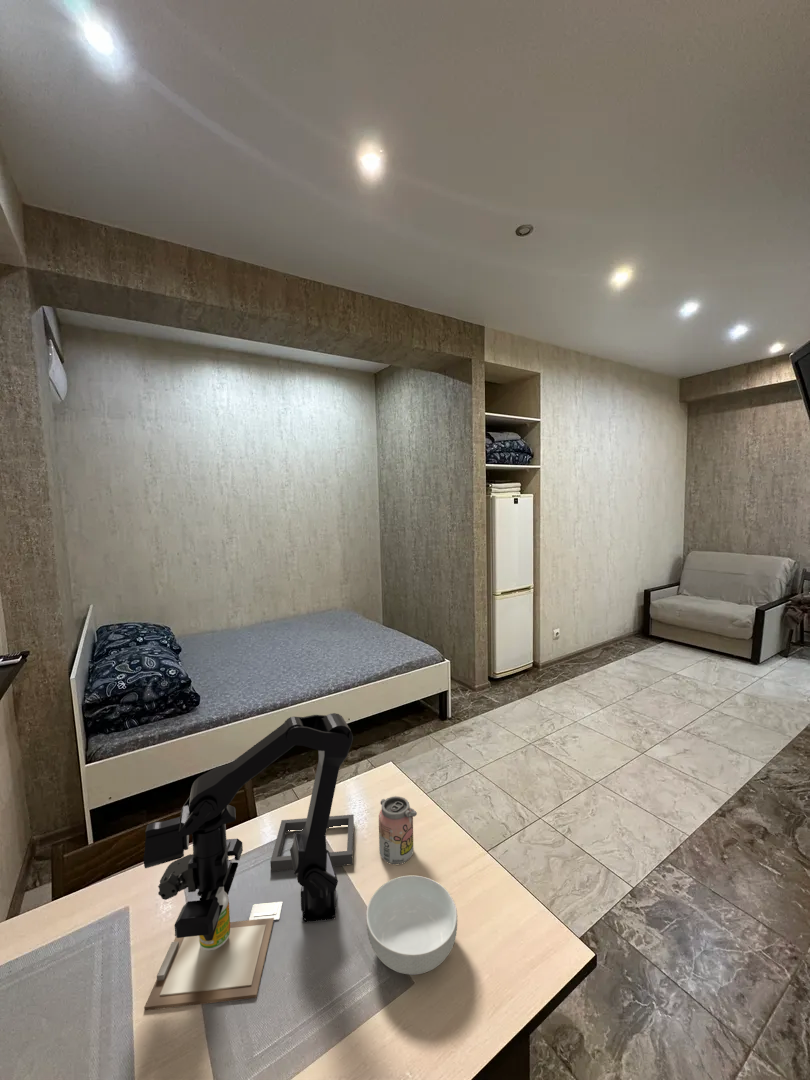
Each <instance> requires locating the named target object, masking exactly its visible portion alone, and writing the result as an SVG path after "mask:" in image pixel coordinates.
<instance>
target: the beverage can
mask: <svg viewBox="0 0 810 1080" xmlns="http://www.w3.org/2000/svg"><path fill="white" fill-rule="evenodd" d="M380 805H381V809H380V811H379V814H378V845H379V847H378V848H379V851H378V852H379V855H380V857H381V859H382V860H384V862H386V863H387V862H388V863H387V864H389V863H390V864H389V865H393V864H399V865H403V864H405V863H406V862H407V861H409V860H410V859H411V857H412V855H413V853H414V817H416V816H417V814H418V812H417V811H416V810H415V809H414V808H412V807H411V806H410V802H409V801H408V799H406V798H405V797H402V796H397V795H395V796H394V795H393V796H390V797H387V798H386V799H385V798H382V799H381V800H380ZM408 859H409V860H408ZM404 862H405V863H404ZM402 863H403V864H402Z"/></svg>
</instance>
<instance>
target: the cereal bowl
mask: <svg viewBox="0 0 810 1080" xmlns="http://www.w3.org/2000/svg"><path fill="white" fill-rule="evenodd" d="M451 895H452V894H451V893H450V892H449V891H448V890H447V889H446V888H445V887H444V886H443V885H442V884H441V883H439V882H437V881H436V880H433V879H432V878H429V877H425V876H421V875H413V874H412V875H402V876H399V877H396V878H392V879H390V880H388V881H386V882H385V883H383V884H382V885H380V886H379V888H378V889H377V890H376V891H375V892H374V893H373V894H372V897H370V900H369V902H368V905H367V908H366V914H365V922H366V931H367V937H368V940H369V944H370V946H371V948H372V950H373V952H374V953H375V955H376V957H377V958H378V959H379V960H380V962H382V964H384V965H385V966H386V967H388V968H389V969H391V970H393V971H395V972H397V973H400V974H403V975H404V974H405V975H411V976H413V975H423V974H424V973H427V972H431V971H433V970H434V969H436V968H438V966H439V965H441V964H442V963H443V962H444V961H445V960H446V958H448V956H449V954H450V953H451V951H452V949H453V948H454V947H453V946H454V944H455V941H456V937H457V931H458V910H457V906H456V903H455V900H454V899H453V897H452V896H451Z"/></svg>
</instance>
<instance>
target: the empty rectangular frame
mask: <svg viewBox="0 0 810 1080" xmlns="http://www.w3.org/2000/svg"><path fill="white" fill-rule="evenodd" d="M354 817H355V815H354V813H352V814H344V815H343V814H342V815H330V816H329V821H328V826H327V828H329V827H333V826H341V825H348V827H347V840H346V841H347V842H346V845H347V846H346V850H342V851H341V850H340V851H329V854H330V857H331V860H332V863H333V866H334V867H341V866H348V865H347V864H352V865H353V858H352V856H353V855H354V854H353V853H354V852H353V851H354V831H353V827H354V826H355V822H354ZM306 820H307V817H304V818H293V819H290V818H289V819H282V820H281V822H280V825H279V828H278V832H277V836H276V840H275V843H274V847H273V850H272V854H271V858H270V872H271V873H272V872H274V873H275V872H284V871H294V869H293V864H292V859H291V855H282V856H281V854H282V849H283V845H284V842H285V837H286V834H285V833H287V832H286V831H288V830H289V831H290V830H302V829H304V828H305V825H306ZM354 828H355V827H354Z"/></svg>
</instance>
